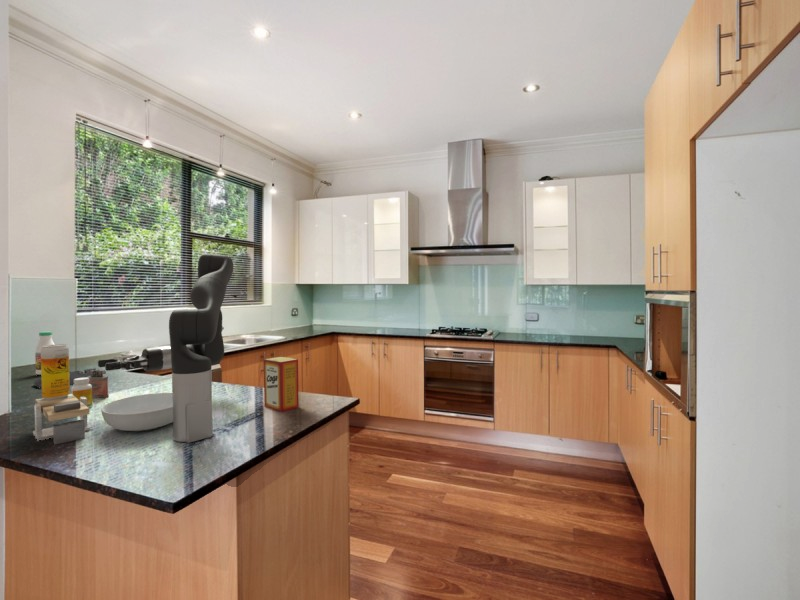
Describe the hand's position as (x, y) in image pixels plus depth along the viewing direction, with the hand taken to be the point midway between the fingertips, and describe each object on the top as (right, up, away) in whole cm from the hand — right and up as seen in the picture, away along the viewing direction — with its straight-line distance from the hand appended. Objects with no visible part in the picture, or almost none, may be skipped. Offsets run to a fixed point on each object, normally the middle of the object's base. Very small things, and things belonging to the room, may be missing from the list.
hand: (101, 365), depth 123 cm
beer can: (-7, -8, -8) cm, 13 cm away
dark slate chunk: (-50, -16, +49) cm, 72 cm away
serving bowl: (+19, -16, -8) cm, 26 cm away
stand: (+1, -16, -15) cm, 22 cm away
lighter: (-19, -16, +24) cm, 34 cm away
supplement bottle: (-14, -16, +10) cm, 23 cm away
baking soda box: (+52, -15, +9) cm, 55 cm away
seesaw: (-1, -9, -13) cm, 16 cm away
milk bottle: (-75, -15, +67) cm, 101 cm away
